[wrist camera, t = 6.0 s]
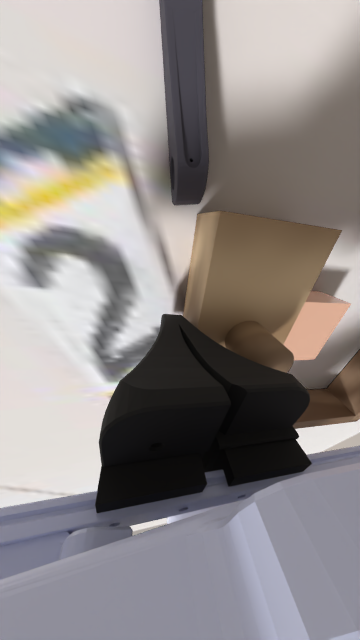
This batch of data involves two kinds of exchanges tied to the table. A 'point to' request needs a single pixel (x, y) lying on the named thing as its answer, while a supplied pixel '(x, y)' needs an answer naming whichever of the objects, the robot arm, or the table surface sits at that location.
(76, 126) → the table surface
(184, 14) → the bracket
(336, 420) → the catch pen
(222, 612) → the robot arm
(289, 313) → the wooden box with knob
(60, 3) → the table surface
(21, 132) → the table surface
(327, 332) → the tile
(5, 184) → the table surface
